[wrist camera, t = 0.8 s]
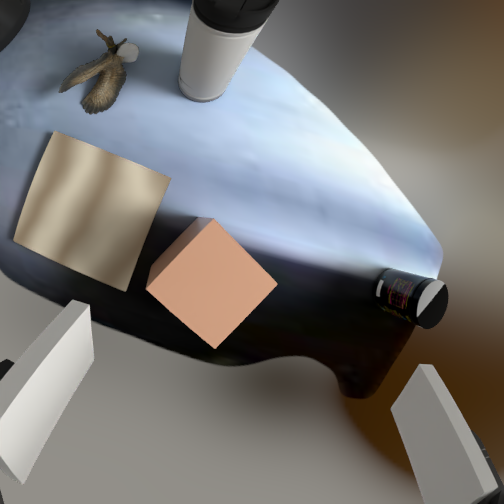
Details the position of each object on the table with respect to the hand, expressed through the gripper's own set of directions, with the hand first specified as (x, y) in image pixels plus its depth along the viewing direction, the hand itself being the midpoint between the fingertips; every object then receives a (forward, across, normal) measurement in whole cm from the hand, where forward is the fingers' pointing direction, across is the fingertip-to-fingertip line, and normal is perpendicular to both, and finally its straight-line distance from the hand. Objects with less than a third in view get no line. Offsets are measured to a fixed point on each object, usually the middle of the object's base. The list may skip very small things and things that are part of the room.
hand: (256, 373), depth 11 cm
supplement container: (+33, +23, -9) cm, 41 cm away
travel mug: (+31, -10, +14) cm, 36 cm away
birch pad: (+24, -20, -3) cm, 31 cm away
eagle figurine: (+28, -22, +12) cm, 38 cm away
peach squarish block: (+26, -6, -8) cm, 28 cm away
